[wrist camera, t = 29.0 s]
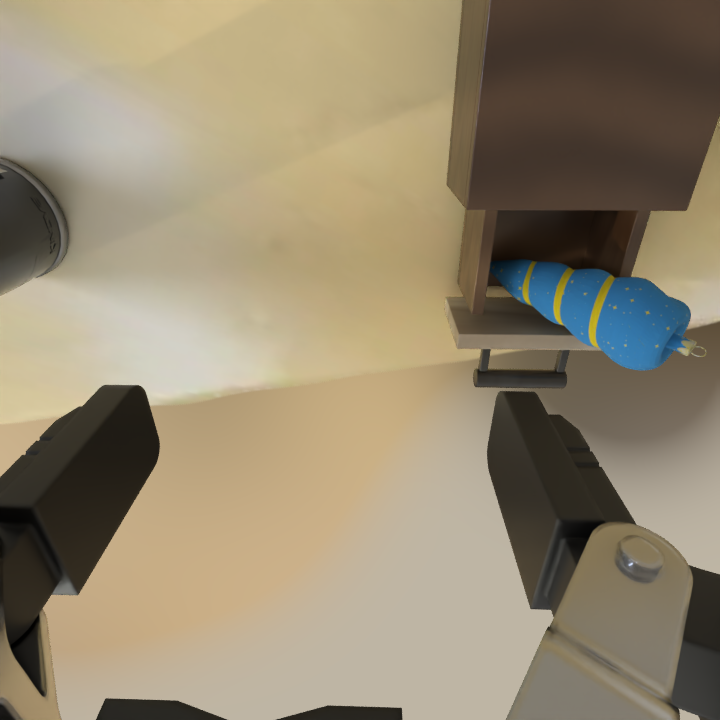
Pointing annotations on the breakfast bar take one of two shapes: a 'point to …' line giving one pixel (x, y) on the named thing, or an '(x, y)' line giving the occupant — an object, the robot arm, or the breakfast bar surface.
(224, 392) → the breakfast bar surface
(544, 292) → the ornament
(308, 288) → the breakfast bar surface
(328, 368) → the breakfast bar surface
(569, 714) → the robot arm
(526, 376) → the drawer
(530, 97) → the cabinet
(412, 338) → the breakfast bar surface
